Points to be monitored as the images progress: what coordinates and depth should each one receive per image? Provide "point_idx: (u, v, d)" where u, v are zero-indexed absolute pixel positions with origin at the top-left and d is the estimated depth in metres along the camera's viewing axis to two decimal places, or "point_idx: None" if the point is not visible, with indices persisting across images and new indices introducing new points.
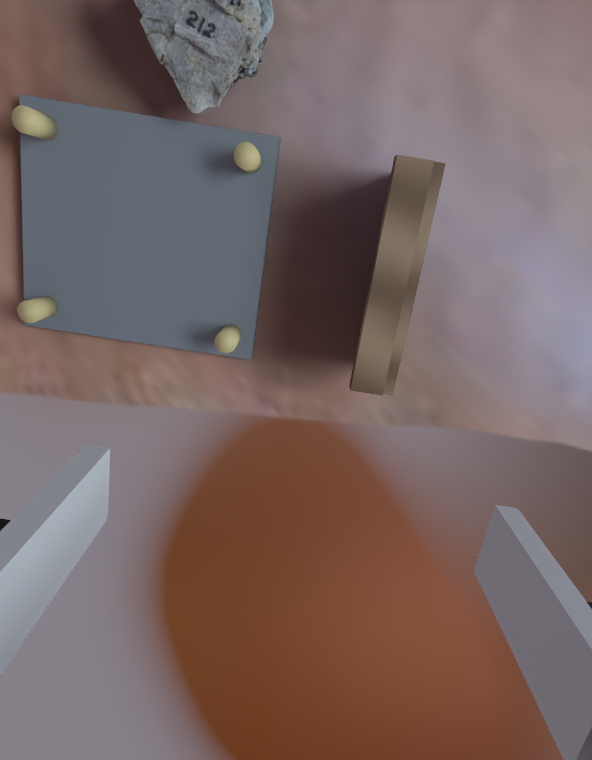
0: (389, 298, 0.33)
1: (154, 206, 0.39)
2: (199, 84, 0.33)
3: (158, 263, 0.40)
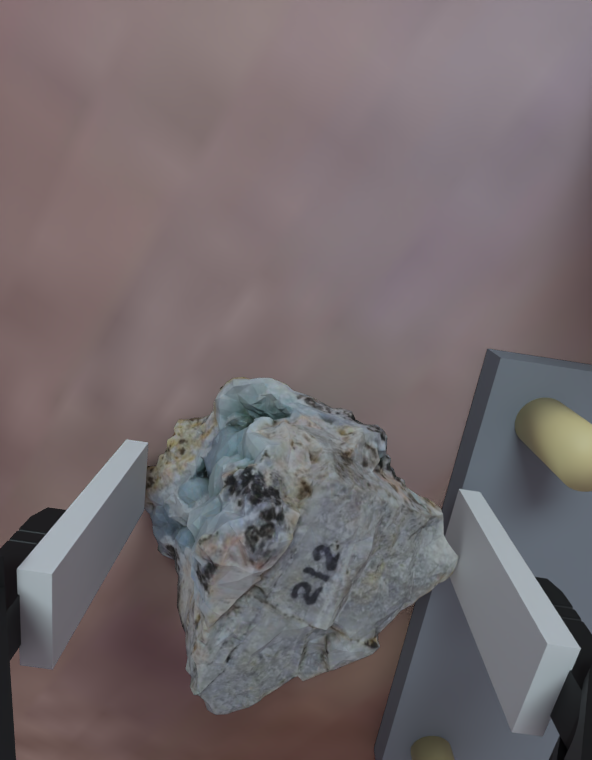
0: None
1: None
2: (411, 560, 0.15)
3: None
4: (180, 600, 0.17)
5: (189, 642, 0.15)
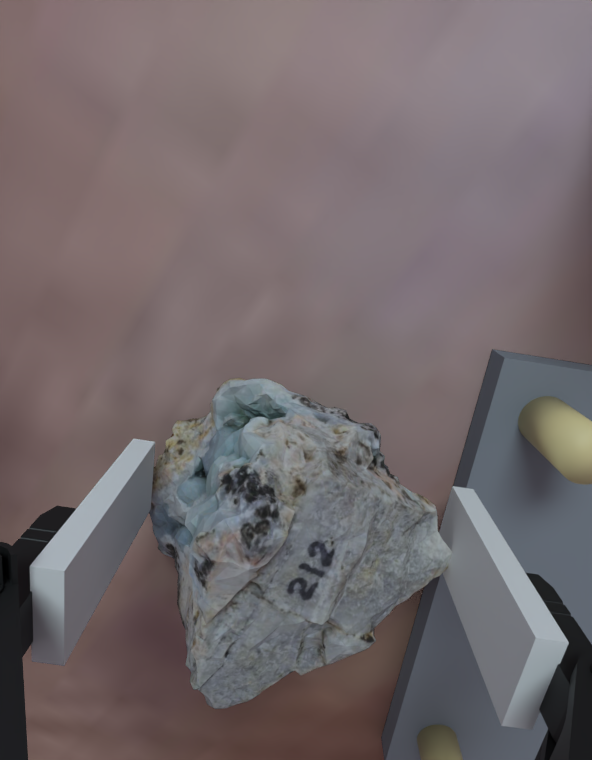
0: None
1: None
2: (405, 556, 0.15)
3: None
4: (181, 598, 0.17)
5: (189, 638, 0.16)
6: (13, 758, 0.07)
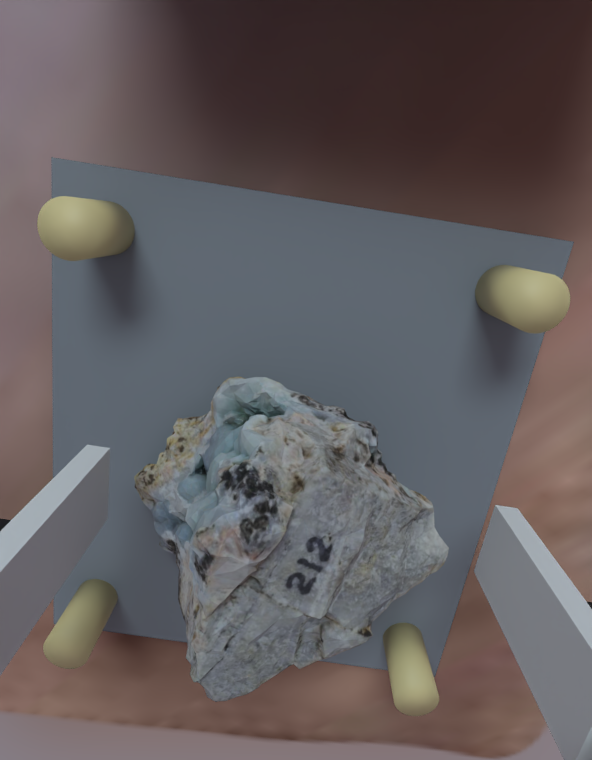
0: None
1: None
2: (402, 552, 0.16)
3: None
4: (181, 593, 0.17)
5: (189, 632, 0.16)
6: None
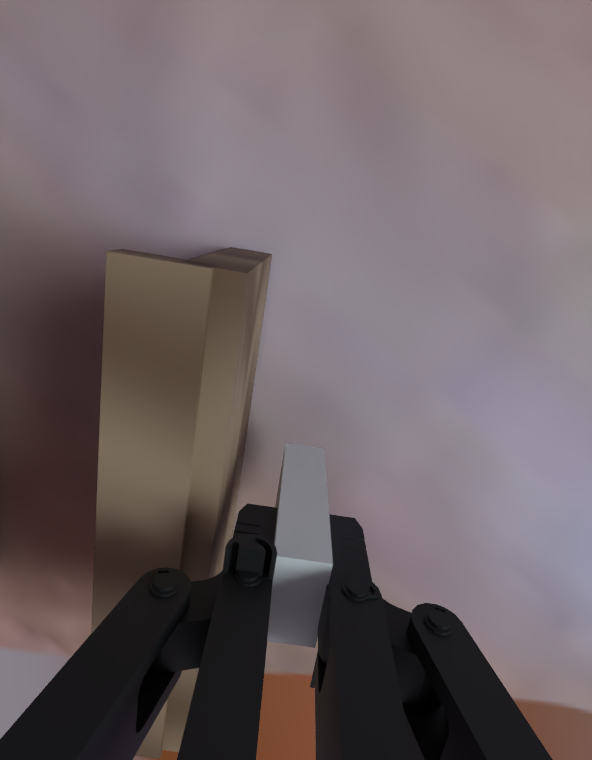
0: None
1: None
2: None
3: None
4: None
5: None
6: (246, 739, 0.08)
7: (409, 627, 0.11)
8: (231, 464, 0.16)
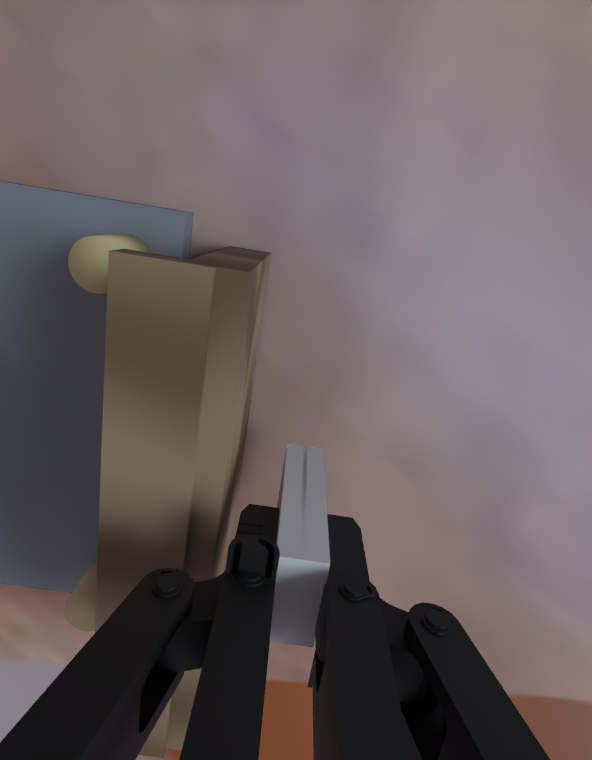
0: None
1: None
2: None
3: None
4: None
5: None
6: (248, 739, 0.08)
7: (406, 627, 0.11)
8: (233, 463, 0.16)
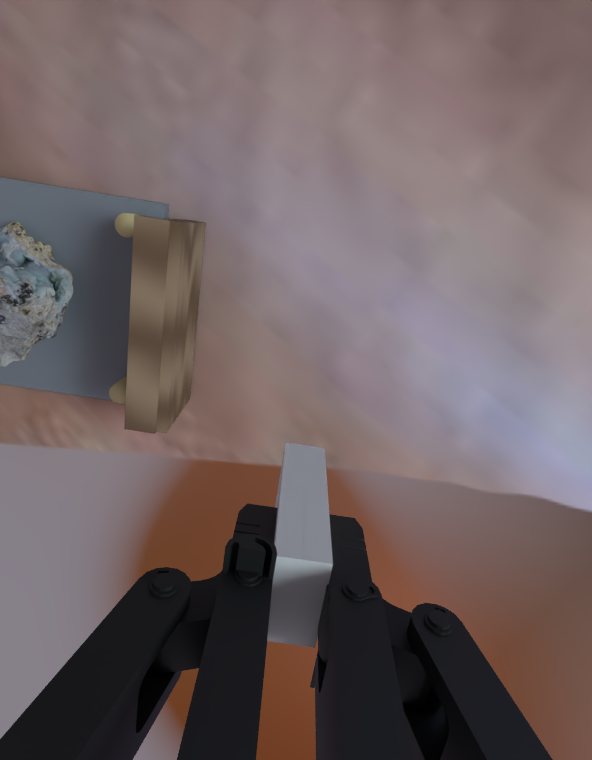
0: (147, 345, 0.35)
1: None
2: (1, 349, 0.39)
3: None
4: None
5: None
6: (246, 738, 0.08)
7: (409, 627, 0.11)
8: (183, 308, 0.37)
